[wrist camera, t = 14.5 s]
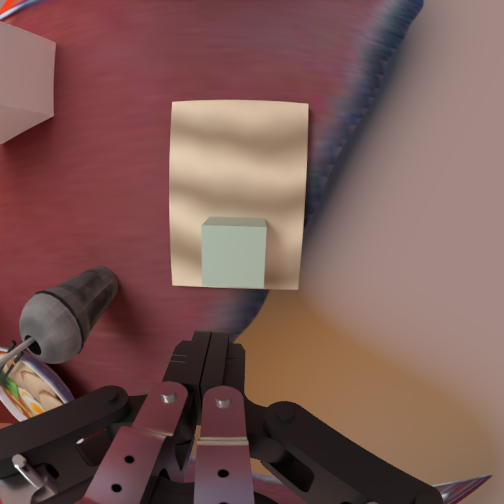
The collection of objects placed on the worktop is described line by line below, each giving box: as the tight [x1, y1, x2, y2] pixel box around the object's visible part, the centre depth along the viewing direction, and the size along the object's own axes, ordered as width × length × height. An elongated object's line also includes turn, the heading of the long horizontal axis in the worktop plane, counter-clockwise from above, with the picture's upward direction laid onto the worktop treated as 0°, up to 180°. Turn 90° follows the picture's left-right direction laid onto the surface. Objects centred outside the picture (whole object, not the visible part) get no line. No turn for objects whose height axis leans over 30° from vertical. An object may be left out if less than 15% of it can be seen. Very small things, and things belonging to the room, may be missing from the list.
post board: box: [169, 100, 308, 290], centre depth 28 cm, size 20×14×6 cm
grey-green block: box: [201, 216, 267, 288], centre depth 28 cm, size 6×6×5 cm
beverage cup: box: [0, 266, 118, 367], centre depth 24 cm, size 7×7×20 cm
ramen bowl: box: [0, 340, 83, 443], centre depth 35 cm, size 25×23×8 cm
